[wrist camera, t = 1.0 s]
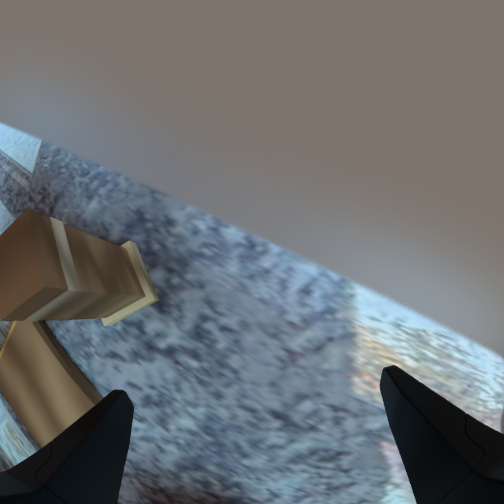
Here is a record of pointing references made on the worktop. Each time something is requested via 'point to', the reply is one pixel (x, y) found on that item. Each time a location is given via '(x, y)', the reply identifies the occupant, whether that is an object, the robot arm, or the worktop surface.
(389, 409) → the robot arm
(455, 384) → the worktop surface
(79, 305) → the tan square pillar
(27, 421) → the dock
